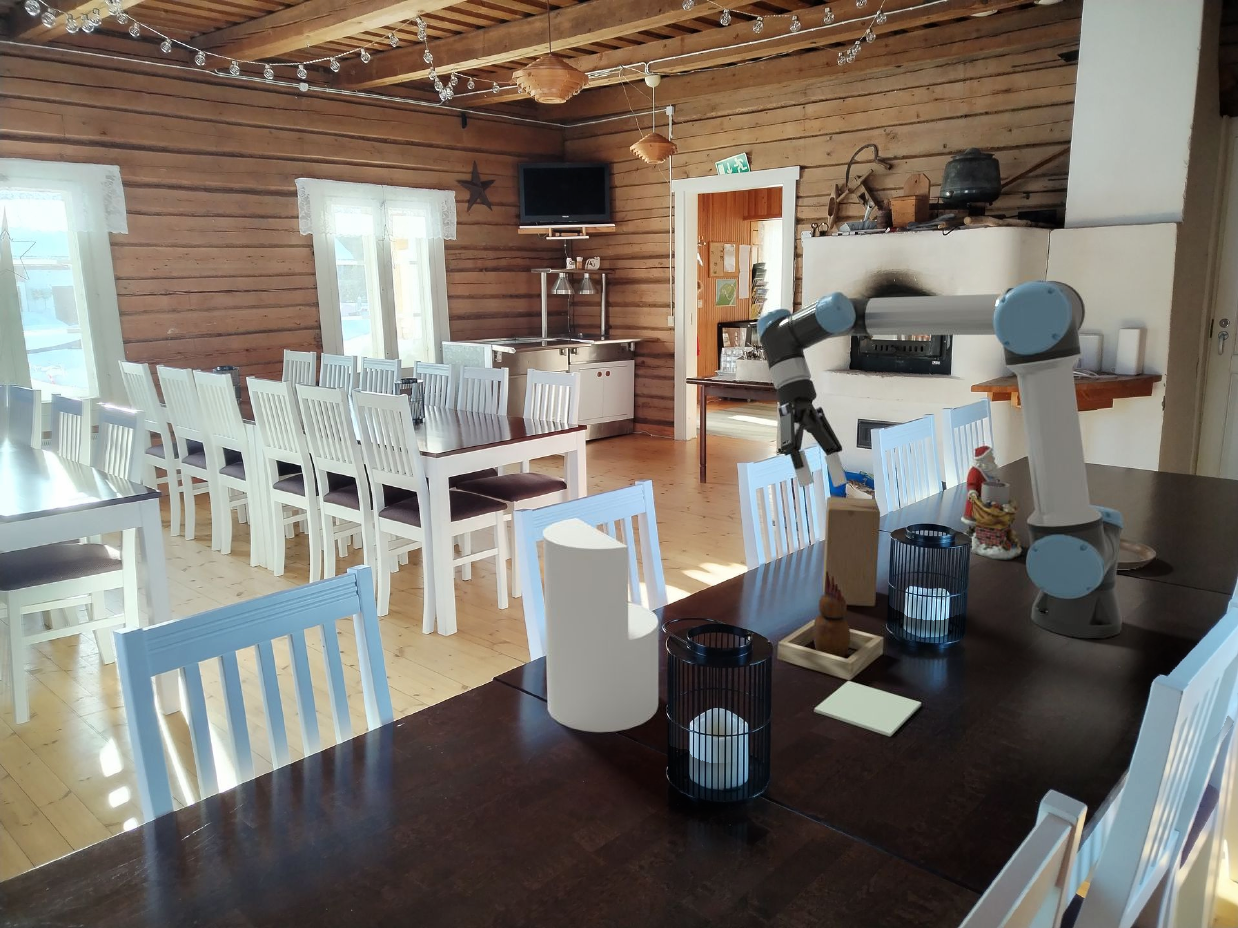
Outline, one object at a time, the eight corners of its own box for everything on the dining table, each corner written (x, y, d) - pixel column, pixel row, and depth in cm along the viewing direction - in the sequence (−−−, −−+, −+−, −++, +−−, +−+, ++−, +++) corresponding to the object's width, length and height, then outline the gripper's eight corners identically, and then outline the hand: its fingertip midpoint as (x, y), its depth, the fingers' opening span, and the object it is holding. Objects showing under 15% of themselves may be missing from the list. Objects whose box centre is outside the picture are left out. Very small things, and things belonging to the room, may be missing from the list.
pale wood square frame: (882, 653, 154) (883, 637, 154) (849, 680, 144) (850, 663, 143) (812, 634, 162) (813, 619, 162) (777, 658, 152) (777, 642, 152)
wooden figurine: (808, 648, 156) (811, 568, 153) (839, 647, 157) (843, 567, 154) (820, 665, 150) (823, 581, 147) (853, 663, 150) (857, 580, 147)
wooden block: (875, 607, 176) (880, 510, 171) (823, 604, 178) (828, 508, 173) (871, 590, 185) (876, 498, 181) (822, 587, 187) (826, 496, 183)
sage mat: (920, 705, 135) (921, 702, 135) (890, 736, 126) (890, 733, 126) (848, 683, 143) (848, 680, 143) (814, 711, 134) (814, 708, 134)
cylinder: (575, 742, 125) (571, 555, 120) (530, 693, 140) (525, 525, 135) (679, 714, 133) (680, 537, 127) (625, 670, 148) (624, 510, 142)
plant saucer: (1056, 568, 198) (1058, 554, 198) (1050, 543, 217) (1051, 530, 216) (1162, 579, 191) (1163, 565, 190) (1145, 552, 210) (1147, 539, 209)
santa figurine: (1025, 562, 202) (1033, 456, 197) (959, 557, 206) (966, 453, 202) (1017, 543, 218) (1025, 444, 213) (957, 538, 222) (963, 441, 217)
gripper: (808, 396, 188) (837, 490, 183) (744, 386, 170) (774, 491, 165) (838, 382, 184) (869, 478, 179) (776, 371, 165) (808, 478, 160)
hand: (824, 485), depth 172 cm, fingers open, 13 cm apart
